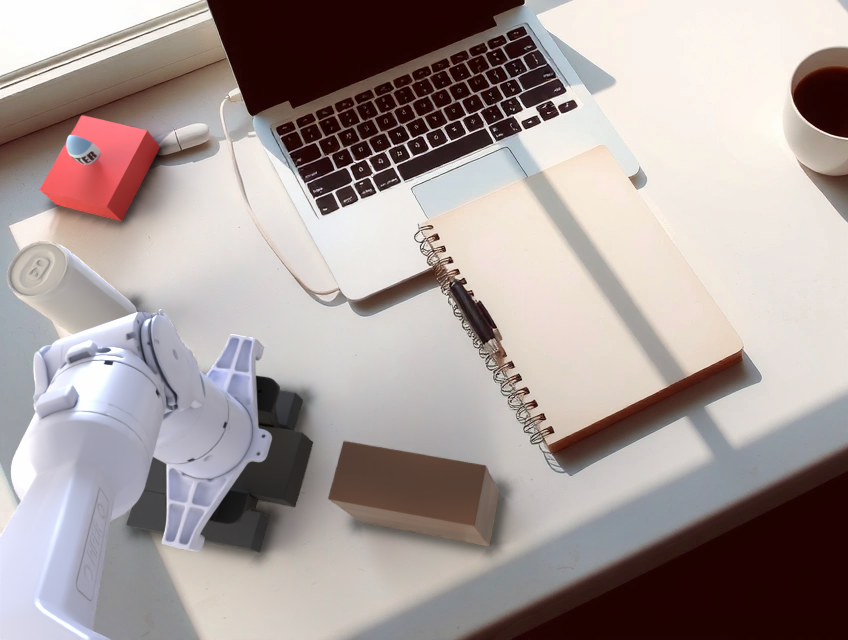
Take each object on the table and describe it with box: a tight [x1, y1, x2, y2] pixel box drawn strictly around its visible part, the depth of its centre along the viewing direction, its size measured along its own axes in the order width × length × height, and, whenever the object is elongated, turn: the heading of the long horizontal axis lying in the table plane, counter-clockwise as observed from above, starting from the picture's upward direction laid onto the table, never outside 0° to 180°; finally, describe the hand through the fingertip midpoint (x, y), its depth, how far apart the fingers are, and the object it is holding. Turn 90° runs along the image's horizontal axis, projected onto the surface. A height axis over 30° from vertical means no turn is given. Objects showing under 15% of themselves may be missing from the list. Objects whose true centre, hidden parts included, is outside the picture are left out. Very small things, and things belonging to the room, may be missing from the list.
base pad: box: [125, 389, 304, 553], centre depth 72 cm, size 12×10×2 cm
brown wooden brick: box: [327, 440, 500, 547], centre depth 66 cm, size 4×10×10 cm, turn 79°
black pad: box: [232, 425, 314, 508], centre depth 69 cm, size 5×8×3 cm, turn 79°
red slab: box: [39, 114, 161, 222], centre depth 82 cm, size 8×7×6 cm
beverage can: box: [6, 240, 138, 335], centre depth 73 cm, size 5×5×12 cm
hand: (255, 465), depth 71 cm, fingers closed on black pad, 5 cm apart
